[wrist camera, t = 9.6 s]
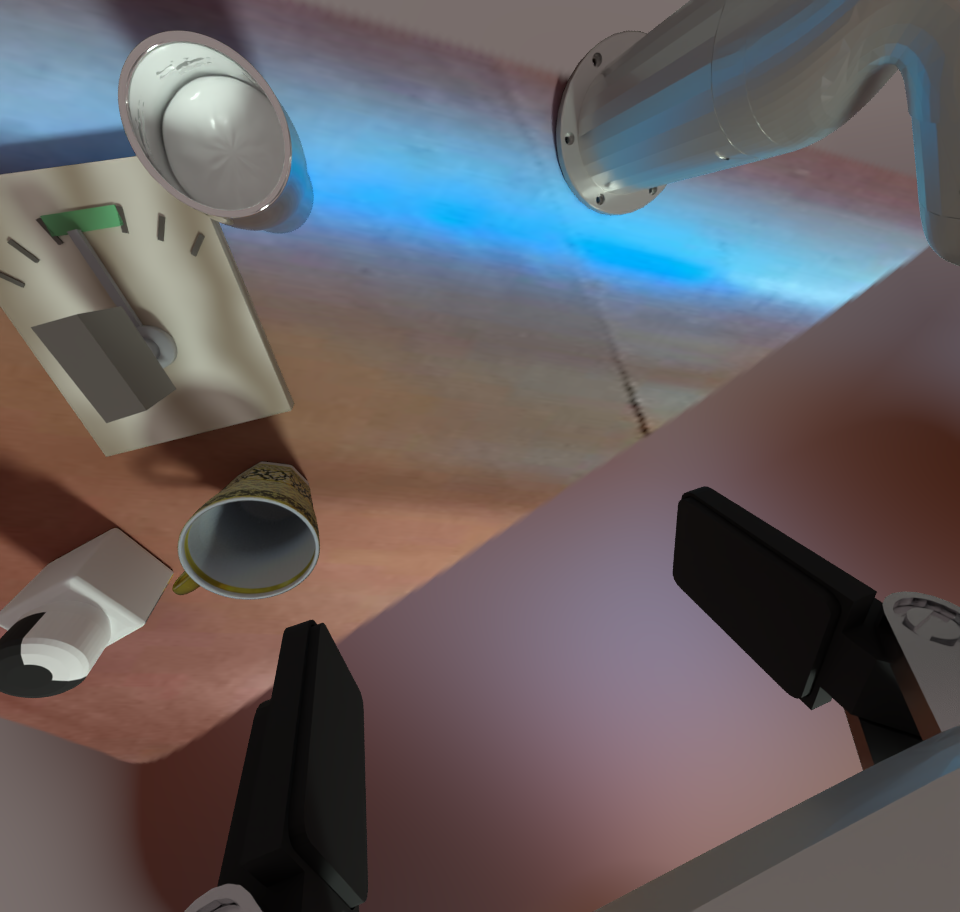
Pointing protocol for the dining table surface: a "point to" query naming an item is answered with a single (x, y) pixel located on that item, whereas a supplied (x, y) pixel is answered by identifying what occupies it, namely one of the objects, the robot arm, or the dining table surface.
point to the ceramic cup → (251, 536)
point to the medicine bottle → (77, 614)
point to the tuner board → (137, 294)
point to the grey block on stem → (111, 350)
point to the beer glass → (214, 133)
